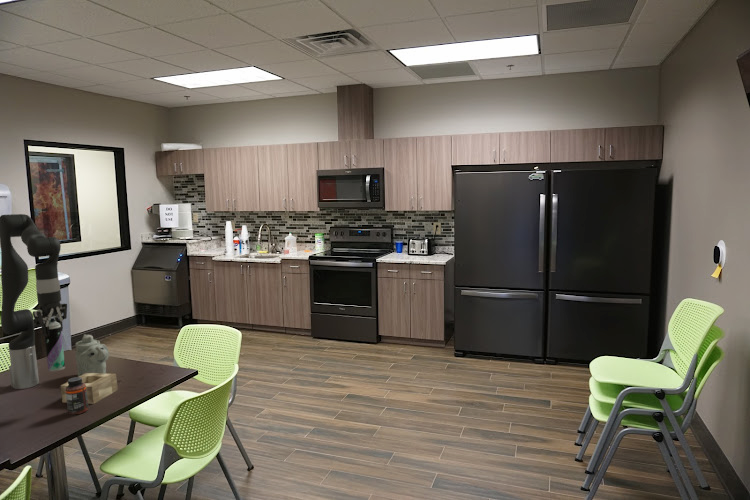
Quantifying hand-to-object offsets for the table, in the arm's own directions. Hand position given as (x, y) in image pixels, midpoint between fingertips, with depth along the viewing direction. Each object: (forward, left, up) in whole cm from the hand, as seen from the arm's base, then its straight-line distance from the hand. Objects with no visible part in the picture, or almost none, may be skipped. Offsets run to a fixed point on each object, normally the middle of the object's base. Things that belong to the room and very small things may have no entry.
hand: (53, 333), depth 194 cm
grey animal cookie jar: (-11, +32, -29) cm, 45 cm away
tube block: (+4, +11, -29) cm, 31 cm away
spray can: (0, 0, -14) cm, 14 cm away
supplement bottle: (+10, -3, -29) cm, 31 cm away
